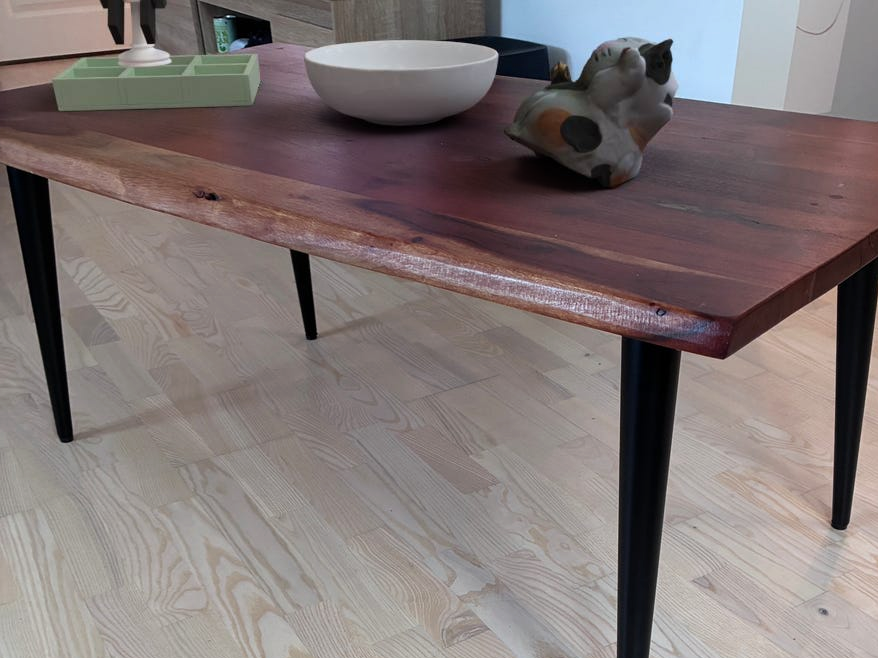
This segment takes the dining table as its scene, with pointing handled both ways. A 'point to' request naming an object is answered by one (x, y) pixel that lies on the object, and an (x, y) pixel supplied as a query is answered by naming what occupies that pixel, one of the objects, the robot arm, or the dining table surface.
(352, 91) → the serving bowl
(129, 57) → the chess piece
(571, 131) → the lucky cat figurine
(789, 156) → the dining table surface
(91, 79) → the compartment tray
